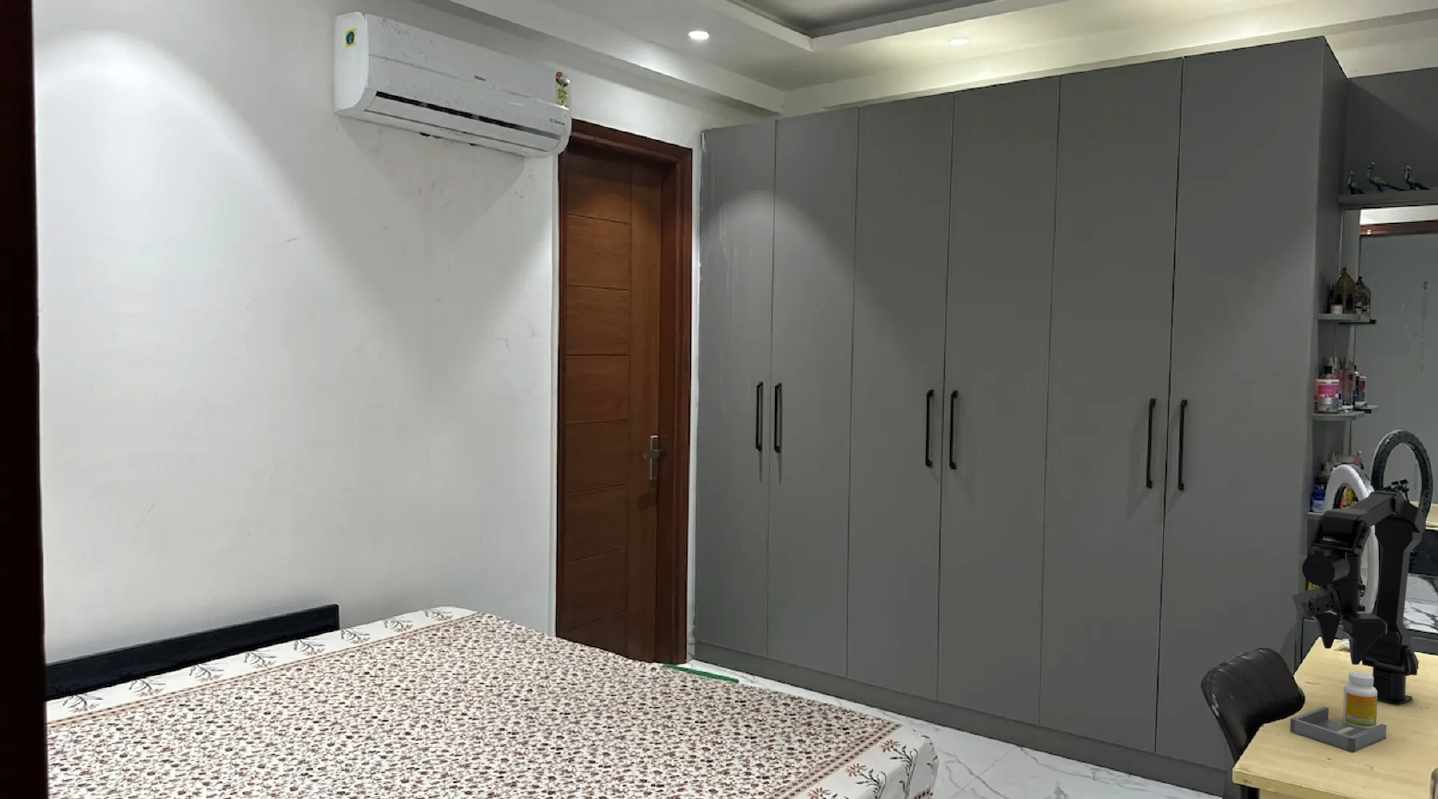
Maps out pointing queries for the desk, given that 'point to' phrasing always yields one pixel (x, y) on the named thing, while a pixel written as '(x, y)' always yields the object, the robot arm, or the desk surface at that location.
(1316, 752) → the desk surface
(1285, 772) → the desk surface
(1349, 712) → the supplement bottle
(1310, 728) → the tray
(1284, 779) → the desk surface
